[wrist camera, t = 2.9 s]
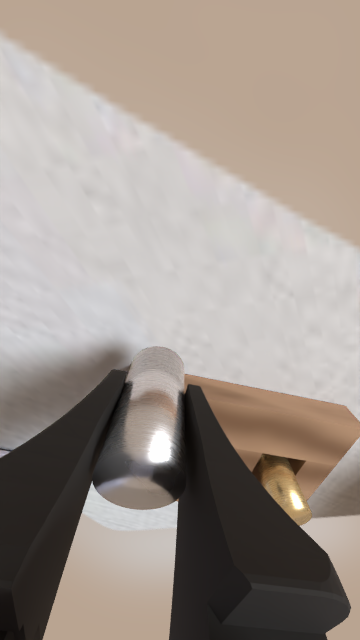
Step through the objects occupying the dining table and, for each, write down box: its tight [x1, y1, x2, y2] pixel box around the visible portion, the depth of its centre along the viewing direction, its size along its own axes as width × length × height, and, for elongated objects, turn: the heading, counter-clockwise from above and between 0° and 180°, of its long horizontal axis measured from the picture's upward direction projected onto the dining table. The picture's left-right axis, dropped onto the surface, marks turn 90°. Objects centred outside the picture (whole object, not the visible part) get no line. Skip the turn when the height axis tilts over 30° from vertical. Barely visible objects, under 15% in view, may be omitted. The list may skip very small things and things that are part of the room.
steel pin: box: [92, 346, 186, 510], centre depth 10 cm, size 3×3×6 cm
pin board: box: [176, 374, 360, 501], centre depth 21 cm, size 14×20×2 cm
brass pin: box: [256, 453, 312, 526], centre depth 20 cm, size 3×3×6 cm
